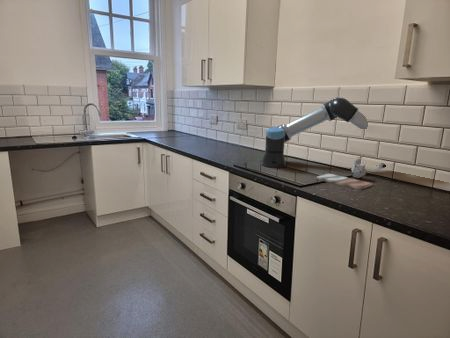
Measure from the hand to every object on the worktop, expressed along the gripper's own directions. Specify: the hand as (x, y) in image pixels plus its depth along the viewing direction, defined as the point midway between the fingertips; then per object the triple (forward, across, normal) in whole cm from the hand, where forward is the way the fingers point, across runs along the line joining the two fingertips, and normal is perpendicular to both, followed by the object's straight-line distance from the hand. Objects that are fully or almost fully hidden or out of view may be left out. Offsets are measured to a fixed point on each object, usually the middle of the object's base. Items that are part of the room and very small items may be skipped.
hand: (366, 164), depth 170 cm
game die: (+8, 0, -7) cm, 11 cm away
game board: (+22, +2, -7) cm, 23 cm away
